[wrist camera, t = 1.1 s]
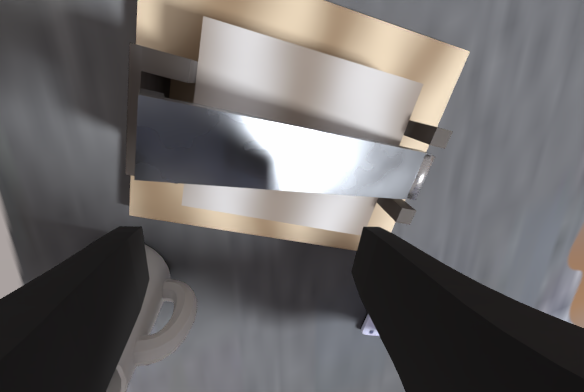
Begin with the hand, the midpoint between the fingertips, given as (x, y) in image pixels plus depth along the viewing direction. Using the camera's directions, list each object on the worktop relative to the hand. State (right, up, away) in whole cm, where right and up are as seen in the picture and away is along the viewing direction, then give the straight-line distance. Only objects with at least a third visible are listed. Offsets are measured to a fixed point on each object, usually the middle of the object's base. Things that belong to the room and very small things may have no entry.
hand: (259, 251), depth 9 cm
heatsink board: (+1, +6, +10) cm, 12 cm away
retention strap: (+2, +4, +6) cm, 7 cm away
